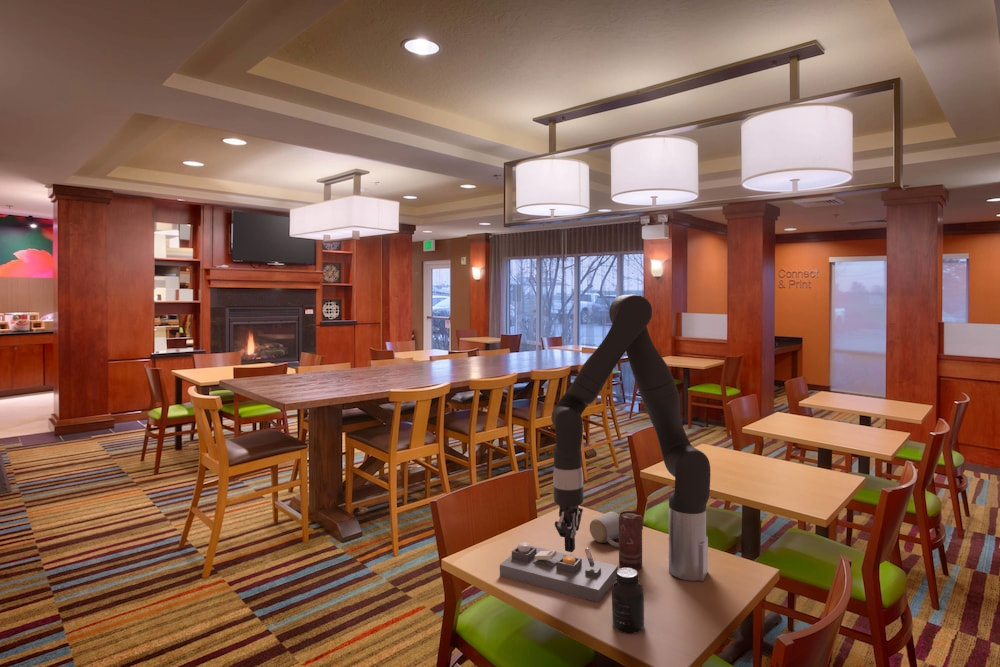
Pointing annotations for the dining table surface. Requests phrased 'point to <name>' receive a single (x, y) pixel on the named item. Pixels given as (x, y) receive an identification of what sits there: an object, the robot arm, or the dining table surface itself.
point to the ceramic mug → (606, 528)
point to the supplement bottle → (627, 601)
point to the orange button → (569, 560)
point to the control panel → (560, 573)
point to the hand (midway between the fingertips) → (570, 550)
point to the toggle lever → (589, 557)
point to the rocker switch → (545, 555)
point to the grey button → (524, 547)
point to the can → (630, 539)
